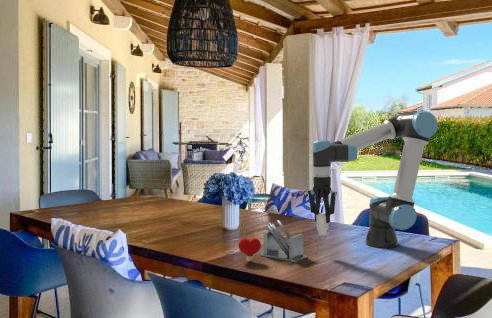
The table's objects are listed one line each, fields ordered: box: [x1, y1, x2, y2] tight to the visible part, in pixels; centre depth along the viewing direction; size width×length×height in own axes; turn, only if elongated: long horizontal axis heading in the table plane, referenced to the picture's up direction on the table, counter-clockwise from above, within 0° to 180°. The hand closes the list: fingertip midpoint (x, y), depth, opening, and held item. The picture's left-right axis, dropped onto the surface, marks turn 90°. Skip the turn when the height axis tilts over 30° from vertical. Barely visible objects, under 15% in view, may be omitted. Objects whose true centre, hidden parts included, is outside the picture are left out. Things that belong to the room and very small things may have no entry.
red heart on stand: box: [238, 237, 262, 263], centre depth 203 cm, size 9×7×10 cm
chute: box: [259, 219, 308, 263], centre depth 212 cm, size 18×10×15 cm, turn 53°
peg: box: [317, 212, 328, 236], centre depth 213 cm, size 4×4×9 cm
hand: (322, 229), depth 213 cm, fingers closed on peg, 3 cm apart
